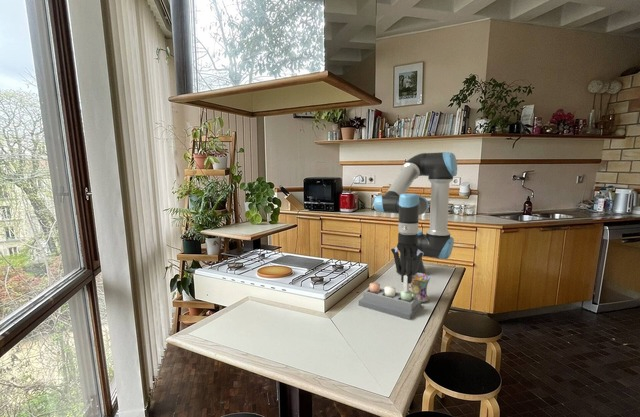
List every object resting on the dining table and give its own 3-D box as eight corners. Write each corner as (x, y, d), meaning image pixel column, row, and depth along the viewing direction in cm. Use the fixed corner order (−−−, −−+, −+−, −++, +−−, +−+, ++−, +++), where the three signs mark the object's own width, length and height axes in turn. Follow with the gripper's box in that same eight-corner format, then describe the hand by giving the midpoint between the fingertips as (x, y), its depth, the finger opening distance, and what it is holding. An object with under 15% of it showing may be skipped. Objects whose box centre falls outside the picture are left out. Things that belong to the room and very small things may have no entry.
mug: (433, 299, 135) (434, 276, 133) (421, 306, 129) (422, 281, 127) (409, 291, 144) (410, 269, 142) (397, 297, 138) (398, 274, 136)
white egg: (387, 293, 132) (387, 285, 131) (396, 295, 129) (397, 287, 129) (382, 296, 128) (382, 288, 128) (392, 299, 126) (392, 291, 125)
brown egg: (372, 289, 136) (372, 281, 135) (381, 291, 133) (381, 284, 133) (367, 292, 132) (367, 285, 132) (377, 295, 130) (377, 287, 129)
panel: (373, 294, 141) (373, 283, 141) (421, 306, 129) (421, 294, 128) (358, 305, 130) (358, 294, 129) (409, 319, 117) (409, 307, 117)
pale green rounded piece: (402, 296, 128) (403, 288, 127) (413, 299, 125) (413, 291, 125) (398, 300, 124) (399, 292, 124) (409, 303, 122) (409, 295, 121)
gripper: (388, 232, 122) (387, 289, 125) (421, 236, 114) (419, 297, 117) (395, 229, 128) (394, 284, 131) (427, 233, 120) (425, 291, 123)
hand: (406, 290), depth 124 cm, fingers closed
